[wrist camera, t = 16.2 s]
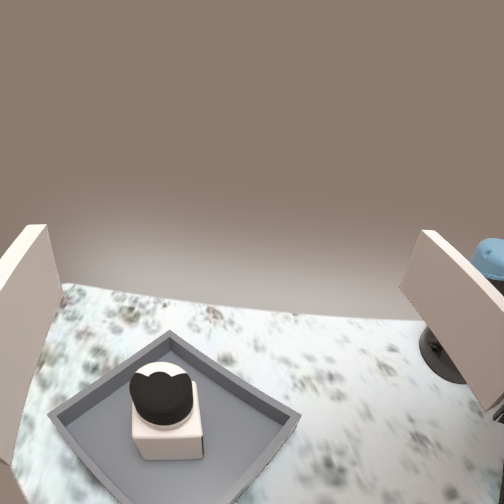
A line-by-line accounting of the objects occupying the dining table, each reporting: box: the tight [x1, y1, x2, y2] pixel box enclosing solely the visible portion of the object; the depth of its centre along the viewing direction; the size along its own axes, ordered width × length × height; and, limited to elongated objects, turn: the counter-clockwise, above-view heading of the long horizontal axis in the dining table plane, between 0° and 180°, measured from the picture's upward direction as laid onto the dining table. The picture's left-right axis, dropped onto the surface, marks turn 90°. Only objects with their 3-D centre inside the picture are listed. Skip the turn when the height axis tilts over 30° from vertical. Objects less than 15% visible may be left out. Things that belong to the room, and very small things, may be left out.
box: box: [47, 330, 302, 504], centre depth 32 cm, size 22×22×4 cm
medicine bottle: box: [129, 362, 204, 460], centre depth 29 cm, size 7×7×12 cm
